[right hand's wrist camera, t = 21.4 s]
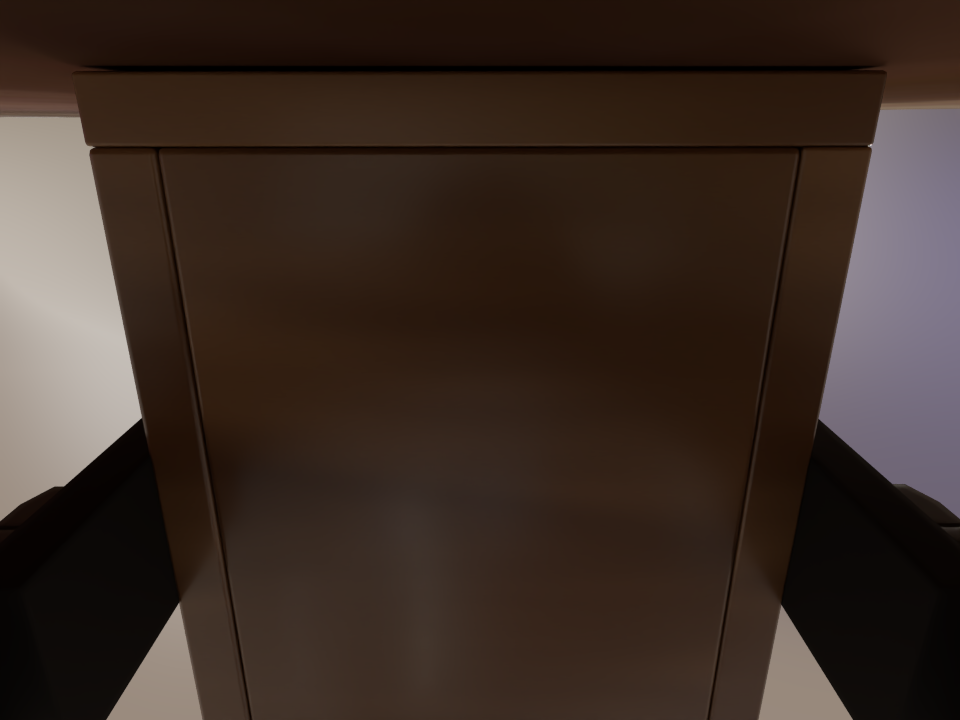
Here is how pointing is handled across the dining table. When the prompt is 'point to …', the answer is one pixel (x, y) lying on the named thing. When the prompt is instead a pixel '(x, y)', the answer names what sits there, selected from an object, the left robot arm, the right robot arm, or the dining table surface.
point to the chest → (480, 374)
